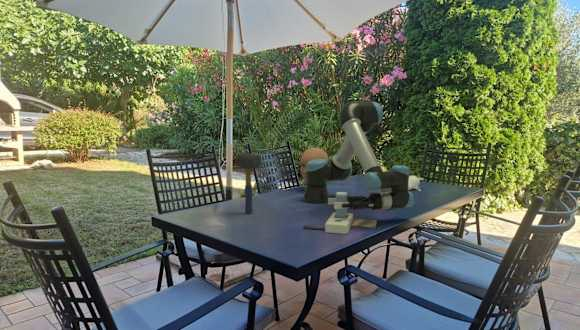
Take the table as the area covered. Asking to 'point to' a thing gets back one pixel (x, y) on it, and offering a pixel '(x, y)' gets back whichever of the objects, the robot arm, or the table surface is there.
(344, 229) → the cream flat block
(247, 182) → the rubber mallet
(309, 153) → the mannequin head
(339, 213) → the pale grey tall block
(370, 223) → the coaster
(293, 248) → the table surface
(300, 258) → the table surface
